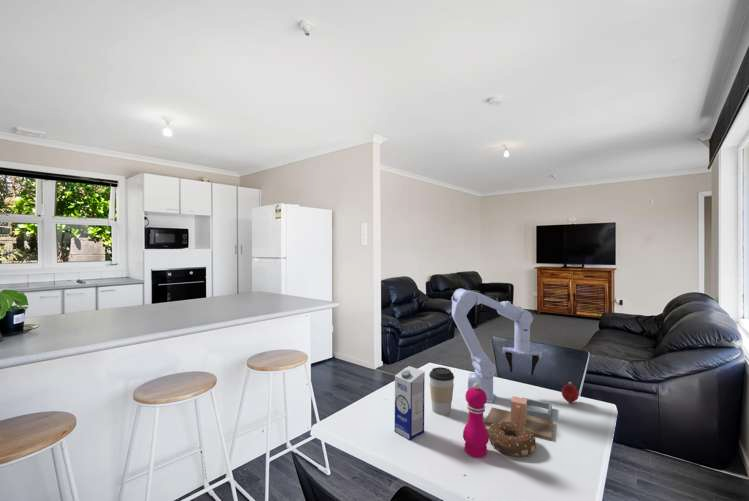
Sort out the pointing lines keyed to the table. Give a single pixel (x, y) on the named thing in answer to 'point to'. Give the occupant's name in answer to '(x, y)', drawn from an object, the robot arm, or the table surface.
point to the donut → (511, 438)
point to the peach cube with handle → (519, 410)
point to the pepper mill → (475, 423)
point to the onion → (570, 393)
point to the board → (534, 424)
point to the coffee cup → (441, 390)
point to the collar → (538, 413)
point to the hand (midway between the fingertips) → (521, 372)
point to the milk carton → (409, 402)
